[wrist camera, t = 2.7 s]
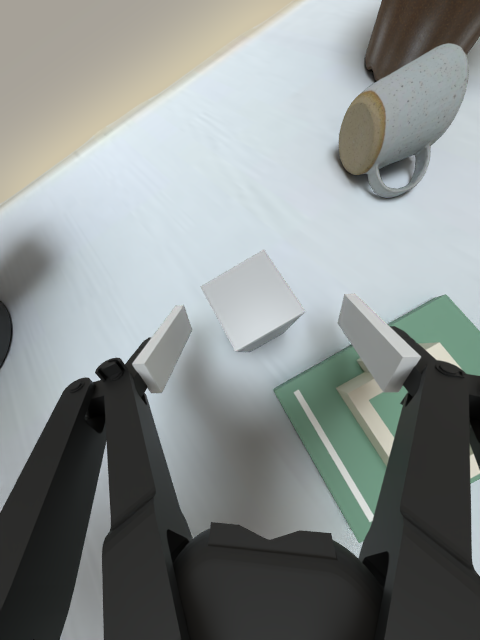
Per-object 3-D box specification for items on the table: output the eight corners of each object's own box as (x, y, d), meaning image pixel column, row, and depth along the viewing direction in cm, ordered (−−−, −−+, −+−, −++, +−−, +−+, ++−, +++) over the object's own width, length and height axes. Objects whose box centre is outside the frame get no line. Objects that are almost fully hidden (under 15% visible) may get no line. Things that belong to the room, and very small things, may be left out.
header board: (273, 389, 20) (275, 397, 16) (434, 297, 19) (474, 285, 15) (352, 529, 16) (377, 579, 13) (547, 424, 16) (630, 446, 12)
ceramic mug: (326, 152, 24) (355, 63, 17) (384, 125, 24) (441, 20, 16) (367, 213, 22) (421, 143, 14) (431, 185, 22) (522, 97, 14)
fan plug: (231, 319, 22) (200, 286, 11) (263, 300, 21) (263, 249, 11) (250, 352, 21) (235, 351, 10) (283, 332, 20) (305, 311, 10)
